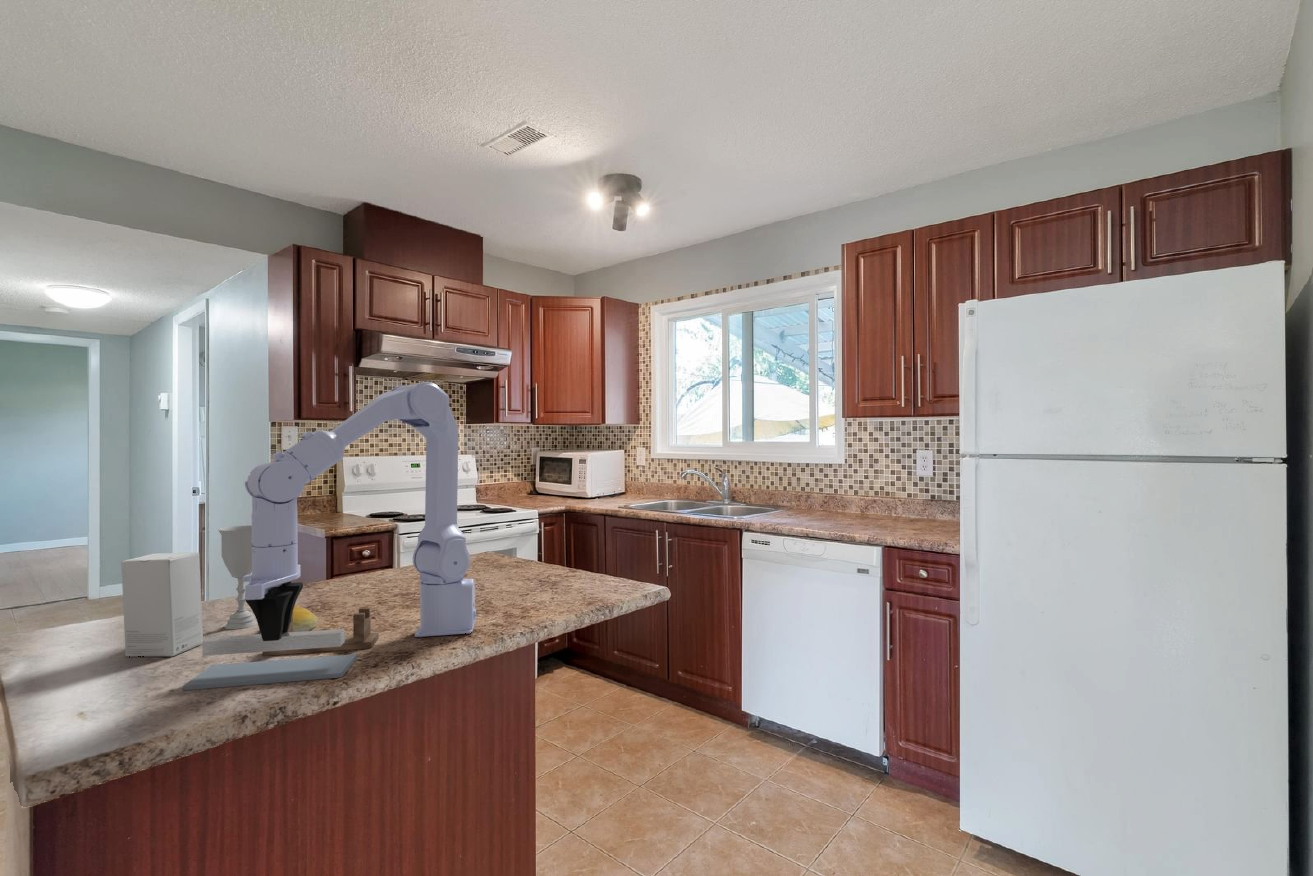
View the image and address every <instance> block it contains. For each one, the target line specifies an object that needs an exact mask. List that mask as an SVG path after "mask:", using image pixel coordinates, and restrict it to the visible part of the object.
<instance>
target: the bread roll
mask: <svg viewBox="0 0 1313 876" xmlns="http://www.w3.org/2000/svg"><path fill="white" fill-rule="evenodd" d="M318 621H319V620H318V617H317V616H316V615H315V614H314V613H312V612H311V611H310V610H309V609H307V608H305V607H302V606H298V605H297V606H296V605H295V606H294V609H293V632H303V631H312V630H313V629H315V628H316V626H317V625H318Z"/></svg>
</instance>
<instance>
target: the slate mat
mask: <svg viewBox="0 0 1313 876" xmlns="http://www.w3.org/2000/svg"><path fill="white" fill-rule="evenodd" d="M357 659H358V654H357V653H355V654H354V653H353V654H340V655H329V656H328V655H327V656H311V657H301V658H286V659H275V660H262V661H261V660H260V661H249V662H233V663H223V664H212V665H211V666H209V667H207V668H206V669H205V670H203V671H202V672H201V673H199V674H197V675H195V676H194V677H193V678H192V679H191V680H189V681H187V682H186V683H185V684H184V685H182V691H191V690H193V691H194V690H202V689H203V690H204V689H214V688H226V687H228V688H229V687H238V686H239V687H241V686H250V685H252V686H253V685H262V684H263V685H264V684H275V683H277V684H278V683H288V682H298V681H299V682H301V681H311V680H312V681H313V680H324V679H335V678H336V679H337V678H338V679H339V678H343V676H344V675H345V674H346V673H347V672H348V671H349V669H350V668H351V667H352V665H353V664H354V663H355V661H356V660H357Z"/></svg>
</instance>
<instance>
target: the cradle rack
mask: <svg viewBox="0 0 1313 876" xmlns="http://www.w3.org/2000/svg"><path fill="white" fill-rule="evenodd" d="M352 616H353V617H352V618H353V619H352V621H353V626H352V630H353V631H352V632H353V634H351V633H350V634H345V642H344V643H343V644H342V645H341V647H326V648H311V649H296V650H282V651H267V652H262V657H267V656H278V655H279V656H280V655H293V654H294V655H295V654H310V653H319V652H320V653H323V652H336V651H346V650H347V651H348V650H349V651H350V650H361V649H372V647H374V645H375V644H376V642H378V640H379V637H380V634H379V632H371V607H359V609H358V613H354V614H353V615H352ZM288 632H293V613H292V617H291V621H290V625H289V629H288Z"/></svg>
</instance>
